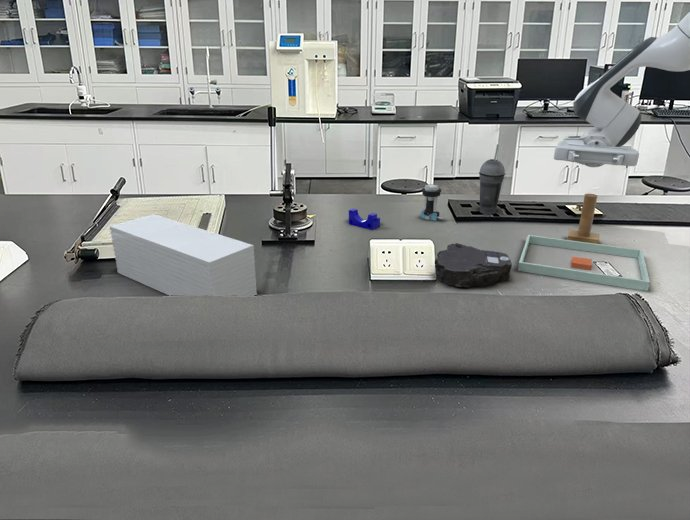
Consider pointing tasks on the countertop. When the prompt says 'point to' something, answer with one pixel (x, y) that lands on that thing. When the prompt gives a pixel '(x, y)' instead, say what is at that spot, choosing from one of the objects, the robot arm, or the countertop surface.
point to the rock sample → (471, 266)
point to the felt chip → (581, 263)
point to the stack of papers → (183, 258)
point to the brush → (586, 222)
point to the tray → (584, 275)
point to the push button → (430, 202)
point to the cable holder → (369, 223)
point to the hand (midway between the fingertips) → (595, 160)
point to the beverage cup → (490, 184)
